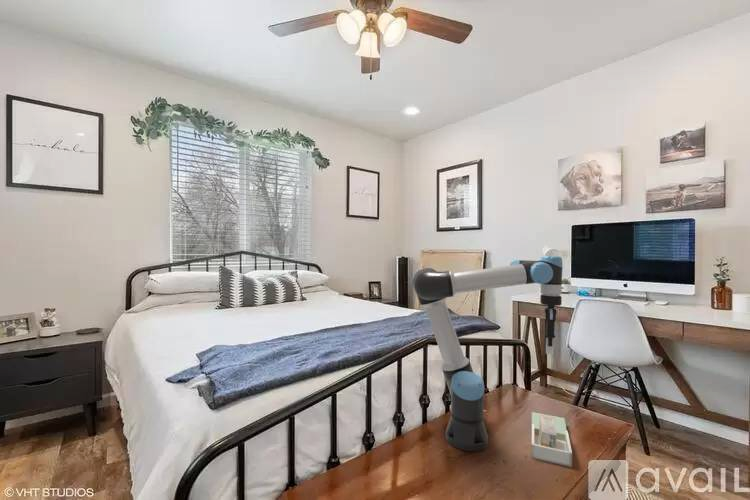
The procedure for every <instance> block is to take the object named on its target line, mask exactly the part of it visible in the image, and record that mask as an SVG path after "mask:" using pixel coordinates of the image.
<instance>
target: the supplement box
mask: <svg viewBox="0 0 750 500" xmlns="http://www.w3.org/2000/svg"><path fill="white" fill-rule="evenodd" d="M539 441H540V445H541V446H546V447H550V448H554V449H556V441H557V434H556V429H555V423H554V418H551V417H546V416H541V415H540V424H539Z"/></svg>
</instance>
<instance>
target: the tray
mask: <svg viewBox="0 0 750 500" xmlns="http://www.w3.org/2000/svg"><path fill="white" fill-rule="evenodd" d="M531 459H534V460H540V461H544V462H548V463H552V464H556V465H561V466H565V467H569V468H572V467H573V451H572V447H571V440H570V436H569V432H568V430H567V431H565V441H562V440H558V439H557V441H556V449H554V448H550V447H546V446H541V445H540V441H539V435H535V434H534V424H532V423H531Z"/></svg>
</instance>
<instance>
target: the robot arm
mask: <svg viewBox="0 0 750 500" xmlns="http://www.w3.org/2000/svg"><path fill="white" fill-rule="evenodd" d="M540 258H541V259H540V260H527V259H526V260H525V259H524V260H522V259H521V260H520V259H519V260H512V261H511V262H510V264H509V265H503V266H496V267H490V268H489V267H488V268H482V269H474V270H467V271H466V270H465V271H460V272H459V271H458V272H452V271H450V270H445V271H437V270H436V269H434V268H431V267H430V268H429V267H424V268H422V269H419V270H418V271H416V272H415V274H414V275H413V277H412V278H413V279H412V285H413V289H414V291H415V294H416V297H417V299H418V303H419V305H420V306H421V307H423V308H424V309H425V312H426V315H427V318H428V320H429V323H430V326H431V329H432V332H433V335H434V337H435V341H436V343H437V346H438V349H439V352H440V356H441V358H442V362H443V363H442V365H441V370H442V372H443V376H444V378H445V383H446V384H447V387H448V391H449V394H450V395H449V396H450V418H449V420H448V424H447V425H446V429H445V439H446V440H445V441H447V443H448V444H449V445H450V446H452V447H454V448H456V449H458V450H462V451H465V452H479V451H482V450H485V449H486V448H487V447H488V444H489V435H488V433H487V429H486V426H485V422H484V410H485V409H484V408H485V407H484V405H485V383H484V379H483V378H482V377H481V376H480V375H479V374H476V373H474V370H473V367H472V364H471V362H470V358H467V357H466V356H465V355H464V353H463V350H462V347H461V344H460V340H459V338H458V335H457V332H456V329H455V326H454V323H453V321H452V318H451V315H450V311H449V309H448V306H447V302H446V300H447V298H451V297H455V295H456V294H461V293H468V292H469V293H470V292H476V291H484V290H491V289H499V288H506V287H513V286H522V285H528V284H529V285H530V284H539V285H540V293H541V294H540V297H539V299H540V304H541V305H544V306H546V308H544V314H545V320H546V329H545V330H546V331H545V335H544V338H545V354H546V355H554V351H555V348H554V347H555V346H554V344H555V338H556V335H555V324H556V323H555V322H556V319H557V318H556V317H557V316H556V315H557V309H556V308H555V306H556V307H558V306H561V305H562V303H563V302H562V301H563V299H562V296H561V295H562V294H563V293H562V292H563V291H562V290H564V289H565V288H564V286H562V284H563V282H562V281H563V268H564V267H563V259H562V257H561V256H559V255H542V256H541V257H540Z"/></svg>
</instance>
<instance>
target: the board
mask: <svg viewBox="0 0 750 500" xmlns="http://www.w3.org/2000/svg"><path fill="white" fill-rule="evenodd" d="M540 415H541V416H546V417H551V418H554V423H555V429H556V434H557V439H558V440H562V441H565V431H568V430H567V426H566V419H565V417H560V416H555V415H549V414H546V413H545V414H544V413H539V412H536V411H535V412H534V411H531V425H532V424H534V434H535V435H539V424H540Z"/></svg>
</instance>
